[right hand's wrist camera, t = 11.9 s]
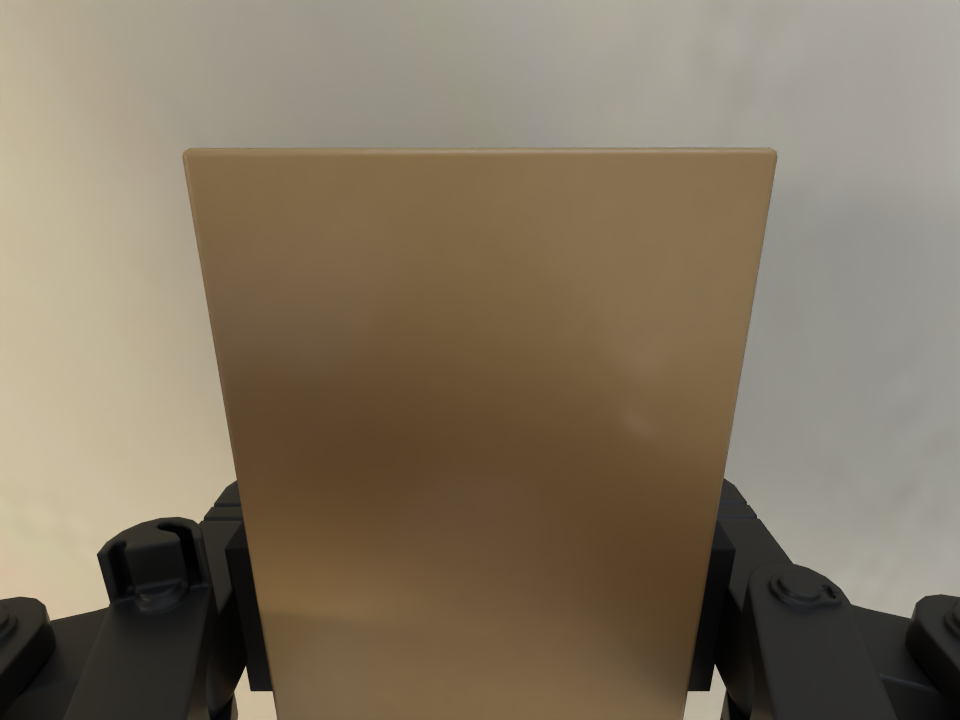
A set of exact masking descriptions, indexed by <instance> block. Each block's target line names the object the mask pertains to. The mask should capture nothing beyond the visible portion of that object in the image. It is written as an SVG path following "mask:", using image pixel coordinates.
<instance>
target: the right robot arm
mask: <svg viewBox="0 0 960 720" xmlns="http://www.w3.org/2000/svg"><path fill="white" fill-rule="evenodd" d="M97 557H98V561H99V564H100V568H101V571H102V575H103V578H104V582H105V586H106V589H107V593H108V596H109V600H110V605H109V607H107V608H104V609H100V610H97V611H93V612H88V613H84V614H79V615H75V616H70V617H66V618H61V619H57V620H52V621H50V619H49V616H48V613H47V609H46V606H45V605H44V604H43V603H41V602H40V601H39V600H37V599H35V598H27V597H15V598H9V599H3V600H0V720H237V719H238V710H237V704H236V698H235V693H234V691H235V688H236V686H237V684H238V682H239V679H240V677H241V675H242V673H243V671H244V668H245V666H246V668H247V673H248V679H249V684H250V690H251V691H273V690H272V684H271V678H270V672H269V667H268V661H267V655H266V649H265V643H264V637H263V631H262V625H261V619H260V613H259V607H258V601H257V595H256V589H255V584H254V578H253V572H252V566H251V560H250V554H249V548H248V542H247V536H246V530H245V524H244V518H243V512H242V506H241V501H240V495H239V489H238V483H237V480H236V481H235V482H233V483H232V484H230V485H229V486H228V487H226V489H225V490H224V491H223V493H222V494H221V495H220V497H219V498H218V499H217V501H216V502H215V503H214V507H211V509H210V510H209V511H208V513H207V514H206V515H205V517H204V521H201V522H200V523H199V525H198V524H197V523H196V522H195V521H193V520H190V519H186V518H181V517H170V518H159V519H155V520H151V521H147V522H143V523H140V524H138V525H135V526H133V527H131V528H129V529H126V530H124V531H122V532H121V533H119V534H118V535H116V536H115V537H113V538H112V539H111V540H109V541H108V542H106V544H105V545H104V546H103V547H102V549H101V550H100V551H99V552H98V554H97ZM714 665H716V667H717V669H718V671H719V673H720V676H721V678H722V680H723V682H724V684H725V687H726V693H725V698H724V703H723V708H722V713H721V718H720V720H960V597H955V596H948V595H942V594H940V595H932V596H925V597H924V598H922V599H921V600H920V601H918V602H917V603H916V605H915V608H914V611H913V614H912V617H911V619H910V618H906V617H901V616H897V615H892V614H888V613H883V612H879V611H874V610H870V609H865V608H862V607H858V606H855V605H851V604H850V602H849V600H848V599H847V597H846V596H845V594H844V593H843V591H842V590H841V589H840V588H839V587H838V586H837V585H835V584H834V583H833V582H832V581H830V580H829V579H828V578H827V577H825V576H823V575H821V574H819V573H817V572H815V571H813V570H811V569H809V568H806V567H803V566H799V565H796V564H793V563H792V561H791V560H790V559H789V557H788V556H787V555H786V553H785V552H784V551H783V549H782V548H781V547H780V545H779V544H778V543H777V541H776V540H775V539H774V537H773V536H772V535H771V534H770V532H769V531H768V530H767V528H766V527H765V526H764V524H763V523H762V522H761V520H760V519H757V515H756V514H755V512H754V511H753V510H752V508H751V507H750V506H749V505H747V502H746V500H745V499H744V498H743V496H742V495H741V494H740V492H739V491H738V490H737V488H736V487H735V486H734V485H733V484H732V483H730V482H729V481H727V480H726V479H724V478H723V484H722V490H721V496H720V502H719V507H718V513H717V519H716V525H715V531H714V537H713V543H712V549H711V555H710V561H709V567H708V573H707V579H706V585H705V591H704V597H703V603H702V609H701V615H700V621H699V627H698V633H697V639H696V645H695V651H694V657H693V662H692V668H691V674H690V680H689V686H688V691H710V687H711V681H712V676H713V670H714Z"/></svg>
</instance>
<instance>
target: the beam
mask: <svg viewBox="0 0 960 720" xmlns="http://www.w3.org/2000/svg"><path fill="white" fill-rule="evenodd" d="M776 162H777V152H776V151H775V150H773V149H771V148H189V149H187V150H185V151H184V152H183V163H184V169H185V174H186V180H187V186H188V192H189V198H190V204H191V210H192V216H193V222H194V228H195V234H196V240H197V246H198V252H199V257H200V263H201V269H202V275H203V281H204V287H205V293H206V299H207V305H208V311H209V317H210V323H211V329H212V335H213V340H214V346H215V352H216V358H217V364H218V370H219V376H220V382H221V388H222V394H223V400H224V406H225V412H226V418H227V423H228V429H229V435H230V441H231V447H232V453H233V459H234V465H235V471H236V477H237V483H238V489H239V495H240V501H241V506H242V512H243V518H244V524H245V530H246V536H247V542H248V548H249V554H250V560H251V566H252V572H253V578H254V584H255V589H256V595H257V601H258V607H259V613H260V619H261V625H262V631H263V637H264V643H265V649H266V655H267V661H268V667H269V672H270V678H271V684H272V690H273V696H274V702H275V708H276V714H277V720H683V716H684V710H685V704H686V698H687V692H688V686H689V680H690V674H691V668H692V662H693V657H694V651H695V645H696V639H697V633H698V627H699V621H700V615H701V609H702V603H703V597H704V591H705V585H706V579H707V573H708V567H709V561H710V555H711V549H712V543H713V537H714V531H715V525H716V519H717V513H718V507H719V502H720V496H721V490H722V484H723V478H724V472H725V466H726V460H727V454H728V448H729V442H730V436H731V430H732V424H733V418H734V412H735V406H736V400H737V394H738V388H739V382H740V376H741V370H742V364H743V358H744V353H745V347H746V341H747V335H748V329H749V323H750V317H751V311H752V305H753V299H754V293H755V287H756V281H757V275H758V269H759V263H760V257H761V251H762V245H763V239H764V233H765V227H766V221H767V215H768V209H769V203H770V198H771V192H772V186H773V180H774V174H775V168H776Z"/></svg>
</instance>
